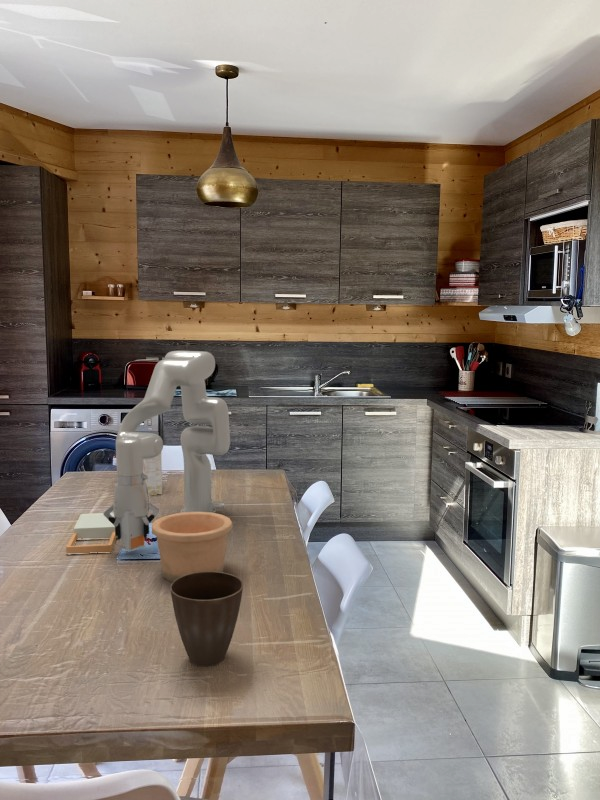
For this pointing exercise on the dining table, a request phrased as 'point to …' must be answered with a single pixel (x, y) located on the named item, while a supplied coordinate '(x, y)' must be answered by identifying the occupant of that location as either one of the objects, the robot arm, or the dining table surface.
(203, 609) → the plant pot
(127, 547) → the skincare box
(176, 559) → the pottery
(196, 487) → the robot arm
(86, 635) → the dining table surface
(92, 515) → the slab with grey cylinder
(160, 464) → the coffeecake box
